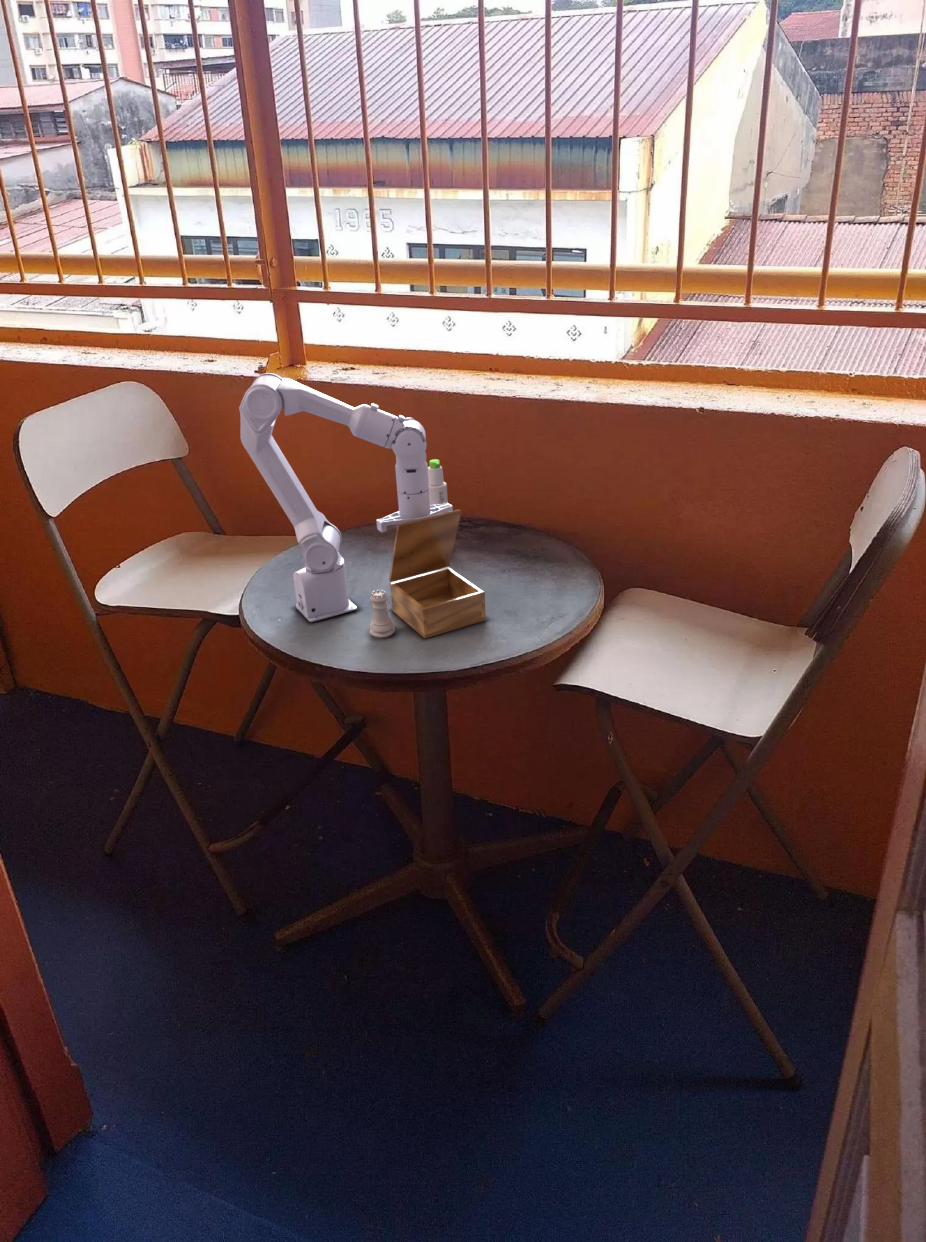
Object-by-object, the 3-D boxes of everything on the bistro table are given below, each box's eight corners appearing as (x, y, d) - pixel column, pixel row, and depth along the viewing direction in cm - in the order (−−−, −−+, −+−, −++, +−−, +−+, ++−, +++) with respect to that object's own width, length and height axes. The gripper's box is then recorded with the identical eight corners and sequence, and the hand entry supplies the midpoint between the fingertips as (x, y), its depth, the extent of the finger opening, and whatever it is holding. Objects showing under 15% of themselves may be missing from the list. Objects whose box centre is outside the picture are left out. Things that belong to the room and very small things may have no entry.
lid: (461, 511, 164) (460, 508, 164) (398, 526, 158) (397, 524, 159) (449, 566, 174) (448, 564, 175) (390, 582, 169) (388, 580, 169)
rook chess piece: (400, 632, 164) (396, 591, 160) (380, 641, 161) (376, 600, 158) (384, 624, 167) (380, 584, 163) (365, 633, 164) (360, 593, 161)
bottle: (431, 556, 194) (425, 464, 185) (429, 548, 198) (422, 458, 189) (452, 554, 195) (446, 462, 185) (449, 546, 198) (443, 456, 189)
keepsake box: (485, 620, 167) (484, 591, 164) (424, 638, 162) (422, 609, 159) (450, 594, 177) (448, 567, 175) (392, 610, 172) (389, 582, 169)
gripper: (385, 503, 158) (392, 575, 164) (459, 486, 164) (463, 557, 170) (369, 492, 164) (376, 563, 170) (440, 476, 170) (445, 545, 176)
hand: (418, 559), depth 171 cm, fingers closed, pressing on lid
